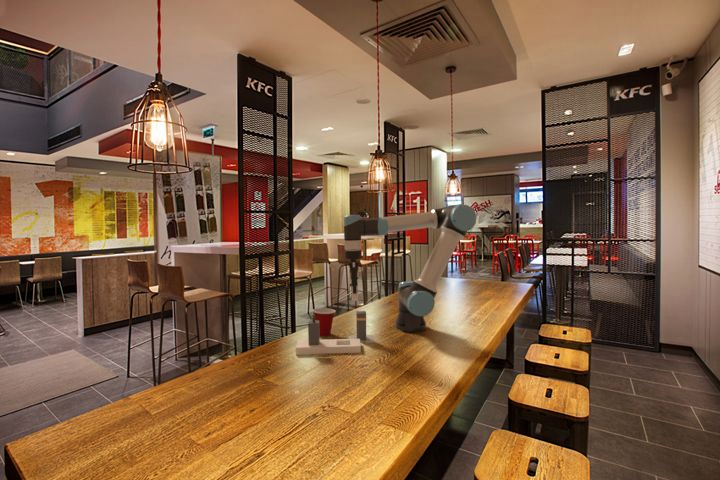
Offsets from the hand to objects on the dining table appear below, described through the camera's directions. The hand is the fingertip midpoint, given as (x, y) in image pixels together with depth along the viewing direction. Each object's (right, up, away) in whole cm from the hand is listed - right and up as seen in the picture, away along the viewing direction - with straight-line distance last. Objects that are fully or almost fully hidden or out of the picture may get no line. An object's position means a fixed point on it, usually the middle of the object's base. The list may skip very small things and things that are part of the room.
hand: (354, 297), depth 163 cm
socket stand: (-11, -20, -12) cm, 25 cm away
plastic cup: (-14, -19, +8) cm, 25 cm away
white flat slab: (+3, -19, +1) cm, 19 cm away
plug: (+3, -19, +1) cm, 19 cm away
